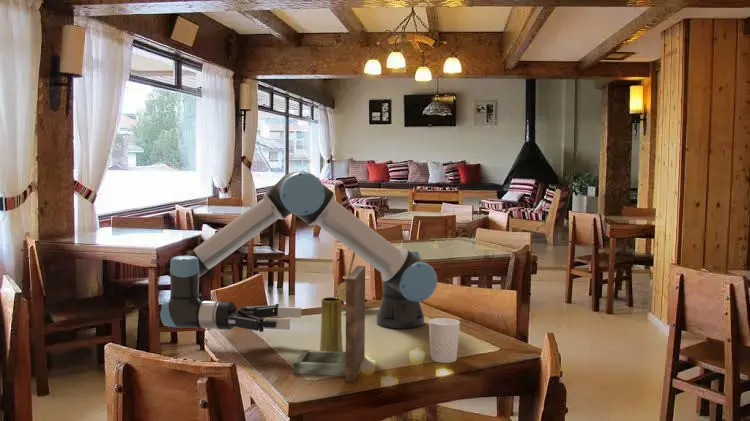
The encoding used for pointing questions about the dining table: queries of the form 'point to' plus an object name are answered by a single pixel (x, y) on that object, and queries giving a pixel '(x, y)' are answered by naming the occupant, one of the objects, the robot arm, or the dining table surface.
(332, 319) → the vase
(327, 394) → the dining table surface
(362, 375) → the dining table surface
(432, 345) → the white cup
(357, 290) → the board
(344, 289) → the wall sconce
